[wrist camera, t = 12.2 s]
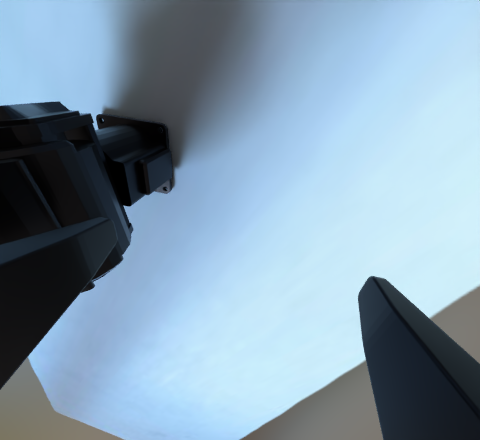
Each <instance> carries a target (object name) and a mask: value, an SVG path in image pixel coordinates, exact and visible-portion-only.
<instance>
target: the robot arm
mask: <svg viewBox="0 0 480 440" xmlns="http://www.w3.org/2000/svg"><path fill="white" fill-rule="evenodd" d="M102 118H103V119H104V122H103V120H102ZM96 120H97V125H98V129H99V130H95V129H94V126H93V124H92V123H94V121H93V119H92V116H91V113H87V114H80V113H79V111H72V110H71V111H70V110H68V109H67V108H66V107H65V106H64V105H62V104H61V103H60V102H45V103H30V104H16V105H4V106H0V390H1V388H2V387H3V386H4V385H5V383H6V382H7V381H8V380H9V379H10V377H11V376H12V375H13V374H14V373H15V371H16V370H17V369H18V368H19V367H20V365H21V364H22V363H23V362H24V360H25V359H26V358H27V357H28V356H29V354H30V353H31V352H32V351H33V350H34V348H35V347H36V346H37V345H38V344H39V342H40V341H41V340H42V339H43V338H44V336H45V335H46V334H47V333H48V331H49V330H50V329H51V328H52V327H53V325H54V324H55V323H56V322H57V321H58V319H59V318H60V317H61V316H62V315H63V313H64V312H65V311H66V310H67V308H68V307H69V306H70V305H71V304H72V302H73V301H74V300H75V299H76V298H77V296H78V295H79V294H80V293H82V292H85V291H88V290H91V289H93V288H94V287H95V285H94V283H93V281H96V280H98V279H99V278H101V277H103V276H104V275H106V274H107V273H108V272H110V271H111V270H112V269H114V268H115V267H116V266H117V265H118V264H120V263H121V261H122V260H123V256H122V255H123V254H124V252H125V251H126V249H127V248H128V246H129V245H130V241H131V233H132V231H133V227H132V224H131V223H129V220H128V217H127V215H126V212H125V209H124V207H123V205H124V206H131V205H133V204H134V203H135V202H137V201H138V200H139V199H141V198H142V197H143V196H145V195H150V194H151V193H152V192H154V191H155V192H160V193H165V194H167V193H169V192H170V191H171V190H172V184H171V178H172V160H171V151H170V149H169V140H168V129H167V127H166V125H165V124H163V123H157V122H151V121H145V120H139V119H133V118H126V117H120V116H114V115H108V114H98V115H97V117H96ZM160 127H161V128H162V129H163V132H161V131H160ZM165 187H167V189H168V190H167V189H165ZM358 303H359V312H360V322H361V331H362V340H363V347H364V352H365V357H366V362H367V366H368V371H369V375H370V380H371V385H372V389H373V394H374V398H375V403H376V407H377V412H378V417H379V421H380V426H381V431H382V435H383V440H480V364H479V363H478V362H477V361H476V360H475V359H474V358H473V357H472V356H470V355H469V354H468V353H467V352H466V351H465V350H464V349H463V348H461V347H460V346H459V345H458V344H457V343H456V342H455V341H454V340H452V339H451V338H450V337H449V336H448V335H447V334H446V333H445V332H444V331H443V330H442V329H440V328H439V327H438V326H437V325H436V324H435V323H434V322H433V321H431V320H430V319H429V318H428V317H427V316H426V315H425V314H424V313H423V312H422V311H420V310H419V309H418V308H417V307H416V306H415V305H414V304H413V303H412V302H410V301H409V300H408V299H407V298H406V297H405V296H404V295H403V294H402V293H400V292H399V291H398V290H397V289H396V288H395V287H394V286H393V285H392V284H390V283H389V282H388V281H387V280H386V279H384V278H380V277H375V276H371V277H369V278H368V279H367V281H366V282H365V284H364V286H363V287H362V289H361V290H360V292H359V295H358Z"/></svg>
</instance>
